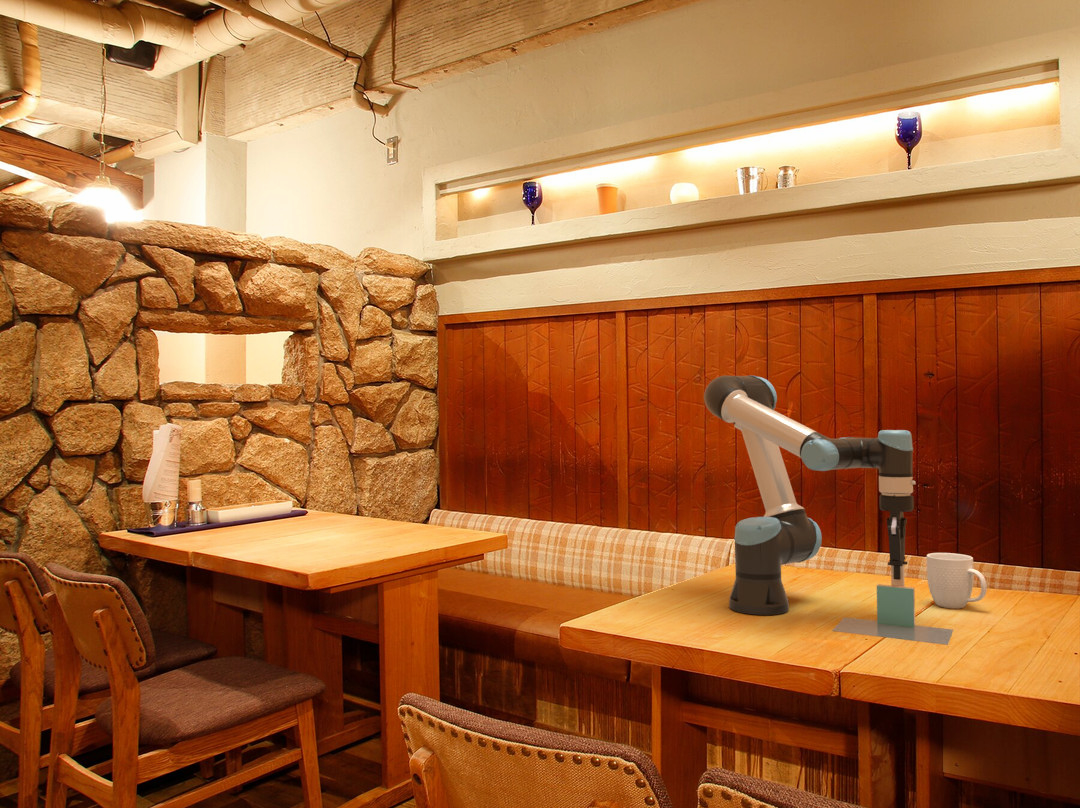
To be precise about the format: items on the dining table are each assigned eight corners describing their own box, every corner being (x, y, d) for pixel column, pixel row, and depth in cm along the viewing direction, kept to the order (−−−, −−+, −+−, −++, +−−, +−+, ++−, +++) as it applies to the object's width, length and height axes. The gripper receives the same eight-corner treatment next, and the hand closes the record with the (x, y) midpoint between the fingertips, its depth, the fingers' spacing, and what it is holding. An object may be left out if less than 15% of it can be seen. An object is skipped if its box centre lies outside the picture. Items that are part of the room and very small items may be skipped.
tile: (877, 623, 194) (876, 585, 194) (878, 621, 196) (878, 584, 196) (914, 627, 190) (913, 589, 190) (915, 625, 192) (914, 587, 192)
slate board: (832, 634, 188) (832, 630, 188) (844, 621, 200) (844, 617, 200) (947, 649, 176) (947, 644, 176) (953, 633, 188) (953, 629, 188)
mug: (997, 609, 210) (996, 558, 210) (974, 616, 204) (973, 563, 204) (942, 599, 222) (941, 551, 222) (918, 604, 216) (917, 555, 216)
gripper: (909, 497, 189) (911, 599, 189) (916, 492, 200) (918, 588, 200) (875, 495, 193) (877, 596, 193) (883, 491, 204) (885, 585, 204)
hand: (898, 592), depth 196 cm, fingers closed
